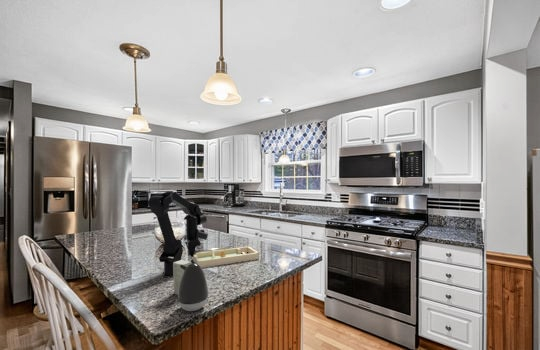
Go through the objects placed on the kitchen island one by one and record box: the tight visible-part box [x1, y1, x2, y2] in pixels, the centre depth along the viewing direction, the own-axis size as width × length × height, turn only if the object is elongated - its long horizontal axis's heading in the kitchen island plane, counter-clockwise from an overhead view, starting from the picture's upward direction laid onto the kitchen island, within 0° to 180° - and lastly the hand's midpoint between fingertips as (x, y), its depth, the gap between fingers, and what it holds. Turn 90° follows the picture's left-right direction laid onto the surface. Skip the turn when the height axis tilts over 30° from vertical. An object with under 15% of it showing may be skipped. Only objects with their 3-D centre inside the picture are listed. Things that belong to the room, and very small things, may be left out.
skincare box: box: [172, 259, 192, 295], centre depth 99 cm, size 6×4×12 cm
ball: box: [220, 251, 226, 257], centre depth 143 cm, size 4×4×4 cm
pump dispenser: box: [177, 262, 209, 312], centre depth 87 cm, size 10×10×15 cm
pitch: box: [192, 246, 260, 269], centre depth 142 cm, size 16×34×4 cm, turn 115°
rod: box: [187, 246, 232, 259], centre depth 140 cm, size 3×24×6 cm, turn 115°
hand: (191, 256), depth 135 cm, fingers closed on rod, 3 cm apart
